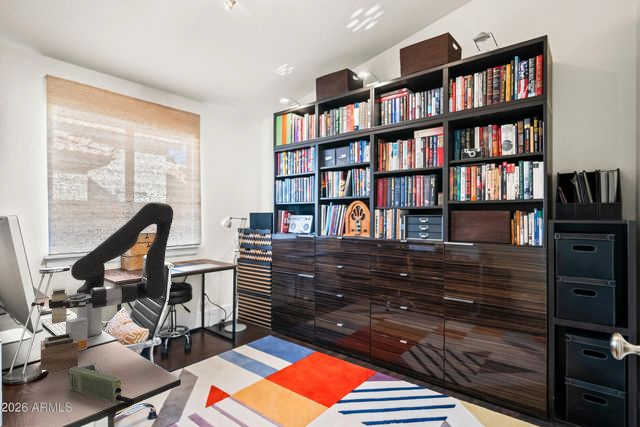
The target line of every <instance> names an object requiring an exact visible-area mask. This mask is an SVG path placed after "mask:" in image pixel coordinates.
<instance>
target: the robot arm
mask: <svg viewBox="0 0 640 427" xmlns="http://www.w3.org/2000/svg"><path fill="white" fill-rule="evenodd" d="M173 219H174V209H173V207H172V206H171V205H169V204H168V203H164V202H158V201H149V202H147V203H146V204H144V205H143V206H142V207H141V208H140V209H139V211H137V213H135V214H134V216H132V217H131V219H129V220H128V221H127V222H126V223H125V224H123V225H122V226H121V227H120V228H118V229H117V230H116V231H114V233H112V234H111V235H110V236H108V237H107V238H106V239H105V240H104V241H103V242H101V243H100V244H98V245H97V246H96V247H95V248H94V249H93V250H91V251H90V252H89V253H87V254H85V255H84V256H82V257H81V258H79V259H78V260H76V261H75V262H74V263H73V264H72V267H71V270H70V273H71V277H72V278H73V279H75V280H77V281H81V282H82V281H84V284H82V285H81V286H80V287H79V288H78V289H76V293H73V294H68V295H67V294H66V298H67V300H63V301H54V302H52V298H51V299H48V309H50V310H52V309H53V308H60V307H63V308H67V309H74V308H75V309H76V318H80V317H84V318H87V319H88V335H87V338H89V337H90V338H91V337H93V336H98V335H100V334H102V331H103V308H107V307H112V306H117V305H120V304H121V305H122V304H128V303H133V302H136V301H137V300H142V299H143V300H145V299H149V300H153V301H156V300H159V299H160V298H162V296H163V295H164V293H165V288H166V284H165V283H166V281H165V273H164V272H165V262H166V261H165V260H166V251H167V247H168V246H167V245H168V241H169V240H168V239H169V237H170V232H171V229H172V228H171V227H172V223H173ZM151 225H156V231H155V235H154V239H153V240H152V242H151V243H150V246H149V248H148V250H147V252H146V256H145V266H144V267H145V268H144V270H145V274H146V281H141V282H137V283H133V284H132V283H130V284H120V285H105V275H106V271H105V270H106V268H105V264H106V263H108V262H110V261H112V260H114V259H117V258H119V257H121V256H122V255H124V254H126V253H127V252H128V251H130V249H133V247H134V246H135V245H136V244H137V242H138V240H139V238H140V237H139V236H140V234H141V233H142V232H143V231H144V230H146V229H147V228H149V226H151Z"/></svg>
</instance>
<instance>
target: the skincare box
mask: <svg viewBox="0 0 640 427" xmlns="http://www.w3.org/2000/svg"><path fill="white" fill-rule="evenodd" d="M68 333H72V335H75V336H76V339H77V342H78V352H80V351H83V350H87V349H88V337H87V335H88V319H87V318H84V317H80V318H77V317H75V318H71V319H67V322H65V334H68Z"/></svg>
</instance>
